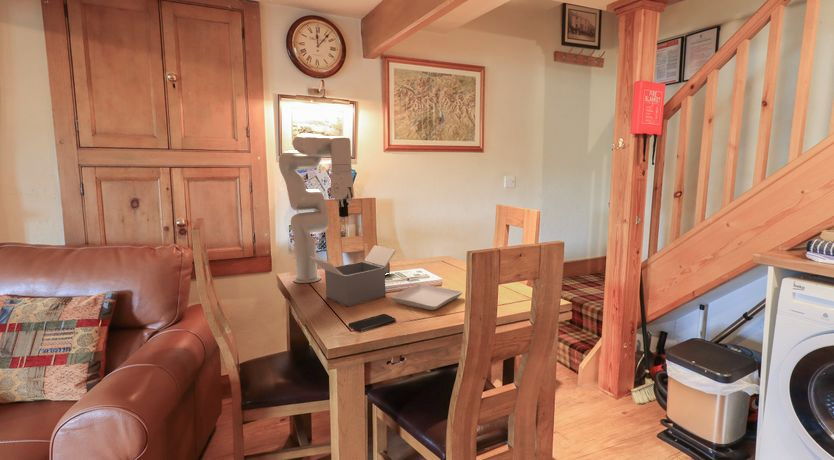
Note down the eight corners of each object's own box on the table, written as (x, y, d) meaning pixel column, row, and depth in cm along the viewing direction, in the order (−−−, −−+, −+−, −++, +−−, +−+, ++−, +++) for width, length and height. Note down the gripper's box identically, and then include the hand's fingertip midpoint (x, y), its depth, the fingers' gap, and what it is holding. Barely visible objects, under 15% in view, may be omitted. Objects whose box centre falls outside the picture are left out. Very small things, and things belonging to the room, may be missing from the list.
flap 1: (329, 262, 161) (328, 263, 160) (343, 274, 165) (342, 276, 165) (310, 256, 172) (309, 257, 172) (324, 268, 176) (323, 269, 176)
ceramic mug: (390, 276, 209) (390, 260, 208) (373, 277, 208) (372, 261, 207) (387, 271, 219) (387, 256, 218) (371, 272, 218) (370, 257, 217)
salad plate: (463, 298, 174) (463, 290, 174) (435, 315, 157) (435, 305, 156) (419, 291, 186) (419, 283, 185) (388, 305, 169) (388, 296, 168)
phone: (397, 319, 150) (358, 330, 142) (397, 322, 151) (358, 333, 142) (384, 313, 157) (346, 323, 148) (384, 316, 157) (347, 326, 148)
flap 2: (374, 245, 191) (375, 245, 191) (364, 260, 188) (364, 261, 189) (395, 249, 180) (396, 250, 180) (384, 266, 177) (385, 267, 178)
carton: (326, 297, 179) (324, 268, 177) (363, 288, 190) (362, 261, 189) (347, 306, 167) (345, 276, 165) (385, 296, 178) (384, 267, 177)
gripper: (323, 169, 173) (325, 215, 176) (343, 169, 161) (345, 219, 164) (340, 168, 177) (342, 214, 180) (360, 169, 166) (362, 217, 169)
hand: (343, 216), depth 172 cm, fingers closed
